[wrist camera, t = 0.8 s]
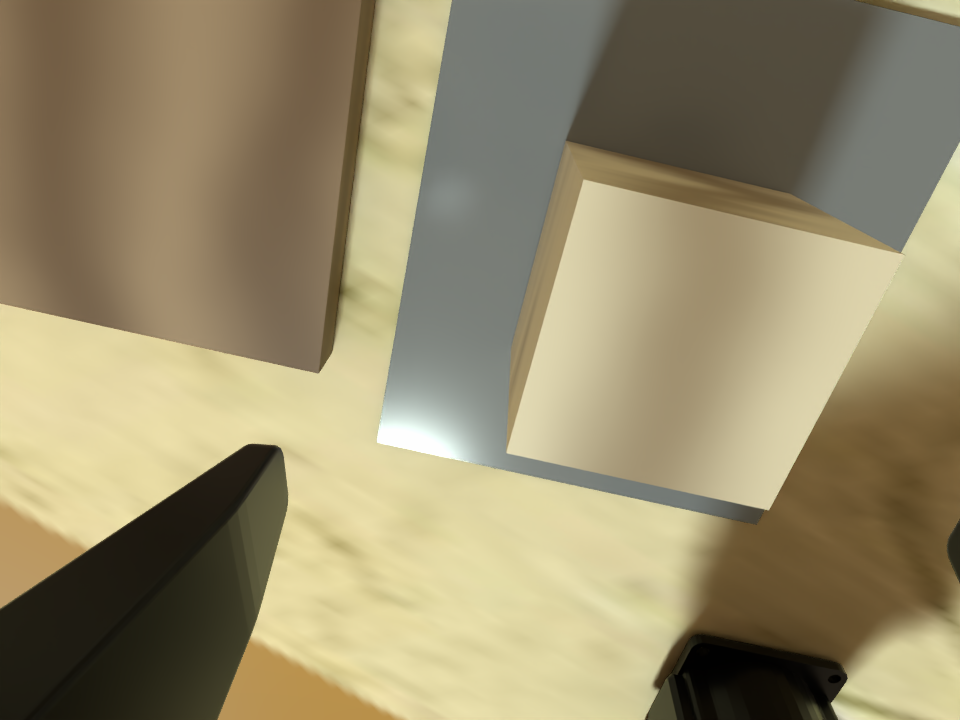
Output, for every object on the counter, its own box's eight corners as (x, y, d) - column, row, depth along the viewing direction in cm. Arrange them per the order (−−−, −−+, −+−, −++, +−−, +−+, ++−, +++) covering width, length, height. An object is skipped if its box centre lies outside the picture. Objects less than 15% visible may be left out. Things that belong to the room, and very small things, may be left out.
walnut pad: (395, -165, 15) (382, -186, 14) (331, 353, 21) (318, 373, 20) (-203, -316, 15) (-277, -354, 13) (-91, 259, 21) (-134, 274, 19)
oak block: (790, 193, 18) (905, 255, 12) (705, 390, 21) (768, 510, 15) (565, 140, 18) (583, 179, 12) (511, 347, 20) (506, 453, 15)
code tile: (1008, 40, 16) (1014, 40, 16) (754, 521, 23) (757, 525, 23) (469, -95, 16) (468, -96, 15) (377, 439, 23) (376, 443, 22)
